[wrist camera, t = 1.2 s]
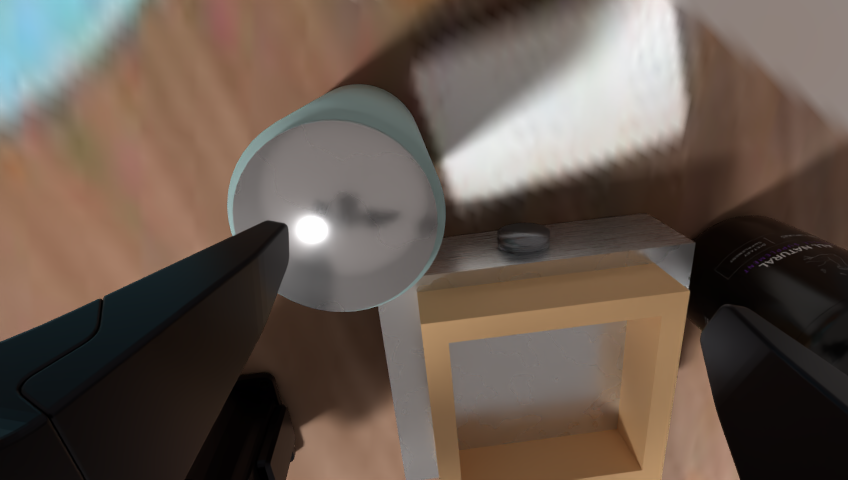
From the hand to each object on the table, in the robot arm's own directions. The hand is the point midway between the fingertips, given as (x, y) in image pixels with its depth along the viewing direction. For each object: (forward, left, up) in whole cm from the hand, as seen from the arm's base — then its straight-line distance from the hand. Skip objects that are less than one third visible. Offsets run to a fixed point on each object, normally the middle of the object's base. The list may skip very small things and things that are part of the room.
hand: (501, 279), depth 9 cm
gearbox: (+4, -10, -13) cm, 17 cm away
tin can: (-3, +1, -13) cm, 13 cm away
